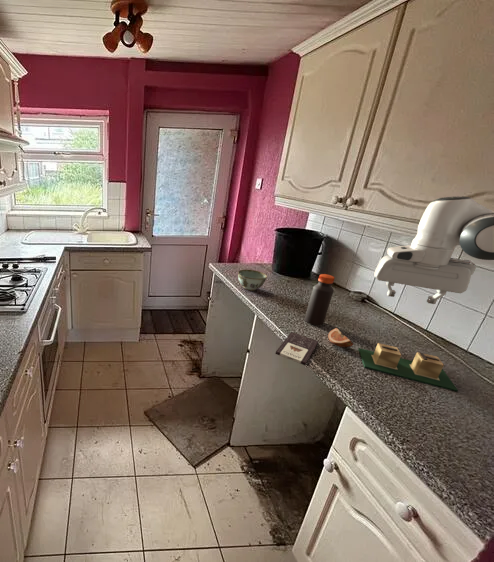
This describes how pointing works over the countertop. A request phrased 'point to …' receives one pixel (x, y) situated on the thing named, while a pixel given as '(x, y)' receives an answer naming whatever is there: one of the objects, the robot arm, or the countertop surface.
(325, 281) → the bottle
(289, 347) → the chocolate bar
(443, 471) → the countertop surface
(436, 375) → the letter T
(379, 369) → the word mat
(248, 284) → the bowl
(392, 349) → the light wooden cube
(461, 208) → the robot arm
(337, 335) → the fruit slice
